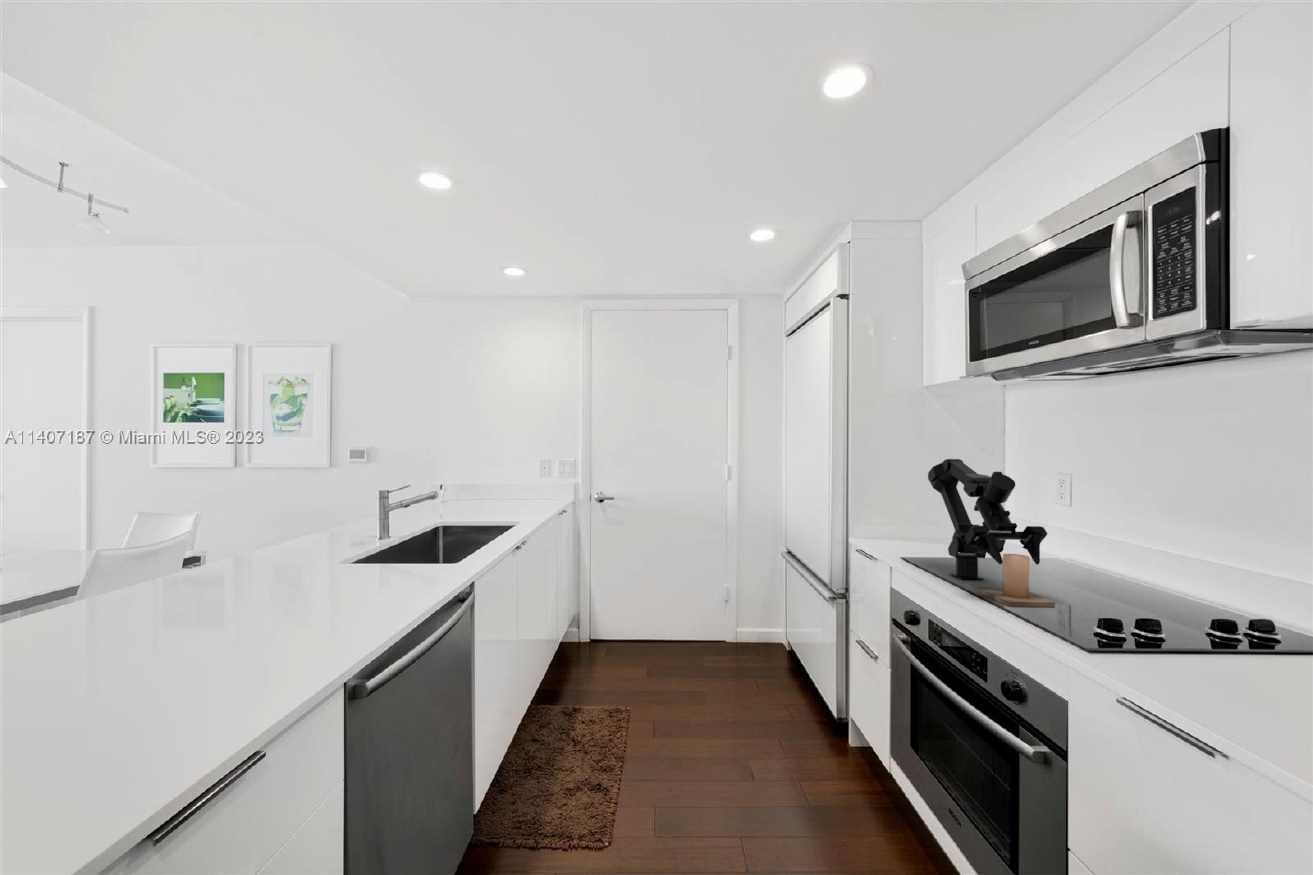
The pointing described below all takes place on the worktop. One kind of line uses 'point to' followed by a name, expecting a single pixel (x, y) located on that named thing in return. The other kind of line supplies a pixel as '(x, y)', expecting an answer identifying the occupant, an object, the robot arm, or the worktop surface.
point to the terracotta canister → (1016, 575)
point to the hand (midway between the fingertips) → (1019, 563)
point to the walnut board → (1017, 599)
